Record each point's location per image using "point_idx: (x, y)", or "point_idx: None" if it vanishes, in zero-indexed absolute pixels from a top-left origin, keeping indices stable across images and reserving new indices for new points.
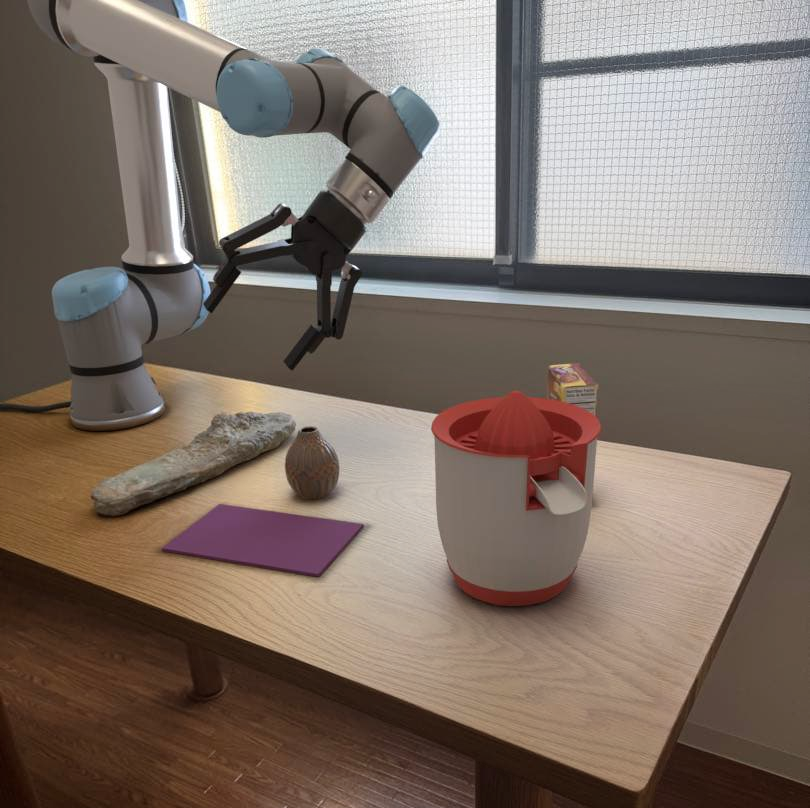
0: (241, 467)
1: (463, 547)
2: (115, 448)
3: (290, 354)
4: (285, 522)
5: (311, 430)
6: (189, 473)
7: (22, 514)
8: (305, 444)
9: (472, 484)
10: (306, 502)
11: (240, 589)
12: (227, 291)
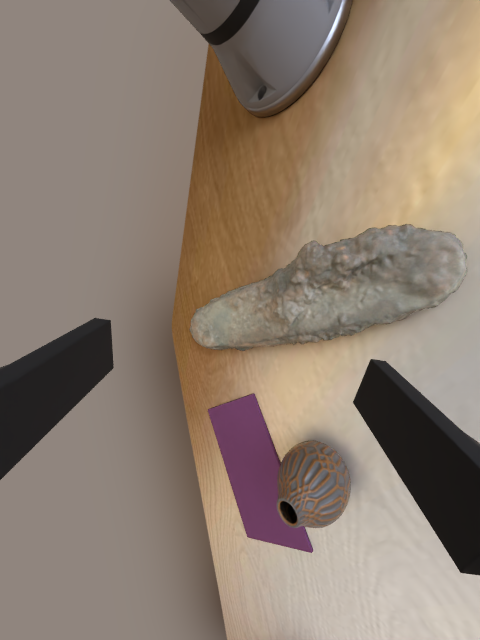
0: None
1: None
2: (247, 184)
3: (383, 386)
4: (269, 472)
5: (301, 506)
6: (242, 346)
7: (180, 288)
8: (282, 506)
9: None
10: None
11: (218, 487)
12: (61, 418)
